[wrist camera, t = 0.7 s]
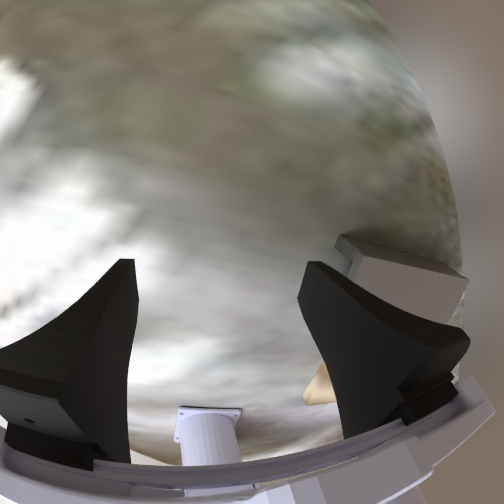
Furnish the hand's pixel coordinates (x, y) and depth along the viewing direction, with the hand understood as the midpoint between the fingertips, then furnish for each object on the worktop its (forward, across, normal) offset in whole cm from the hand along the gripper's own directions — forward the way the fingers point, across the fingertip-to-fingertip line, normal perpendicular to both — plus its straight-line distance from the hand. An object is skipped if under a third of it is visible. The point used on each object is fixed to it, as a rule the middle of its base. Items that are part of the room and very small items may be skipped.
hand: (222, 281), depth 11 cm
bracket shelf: (+9, -20, +9) cm, 24 cm away
